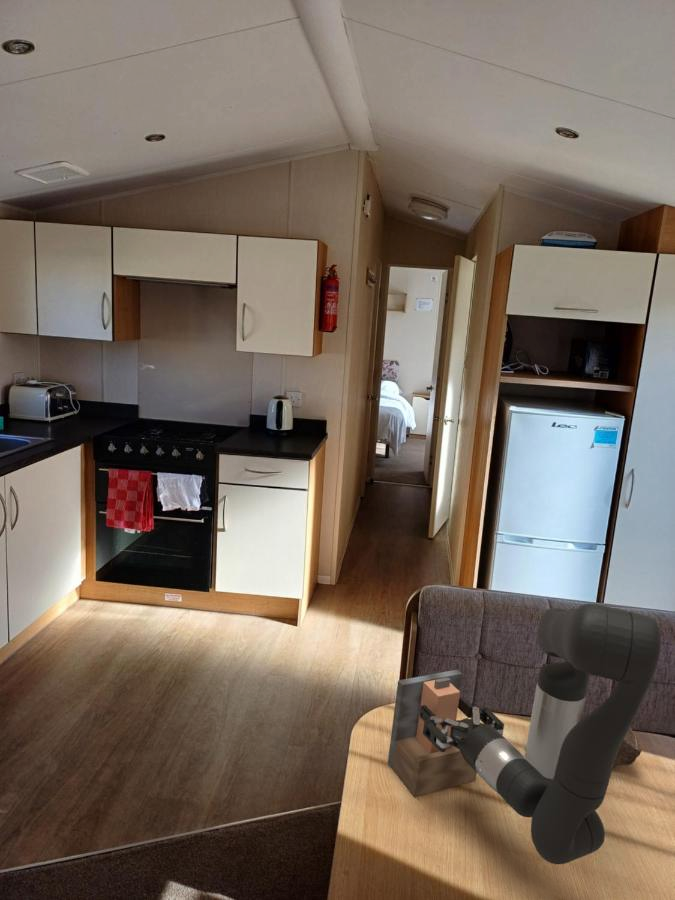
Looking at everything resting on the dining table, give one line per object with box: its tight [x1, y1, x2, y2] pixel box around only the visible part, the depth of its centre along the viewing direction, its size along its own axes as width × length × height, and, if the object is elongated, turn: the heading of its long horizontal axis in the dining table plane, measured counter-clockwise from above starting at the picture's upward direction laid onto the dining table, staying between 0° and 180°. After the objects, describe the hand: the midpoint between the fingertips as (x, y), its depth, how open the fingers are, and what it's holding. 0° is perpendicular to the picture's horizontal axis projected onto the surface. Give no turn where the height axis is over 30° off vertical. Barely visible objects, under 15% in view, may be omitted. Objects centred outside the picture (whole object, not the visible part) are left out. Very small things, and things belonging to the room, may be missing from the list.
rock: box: [592, 705, 643, 767], centre depth 135 cm, size 12×10×10 cm
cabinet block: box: [416, 678, 461, 754], centre depth 125 cm, size 5×5×14 cm
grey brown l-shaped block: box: [387, 669, 477, 798], centre depth 125 cm, size 14×10×18 cm
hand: (440, 705), depth 124 cm, fingers open, 8 cm apart
